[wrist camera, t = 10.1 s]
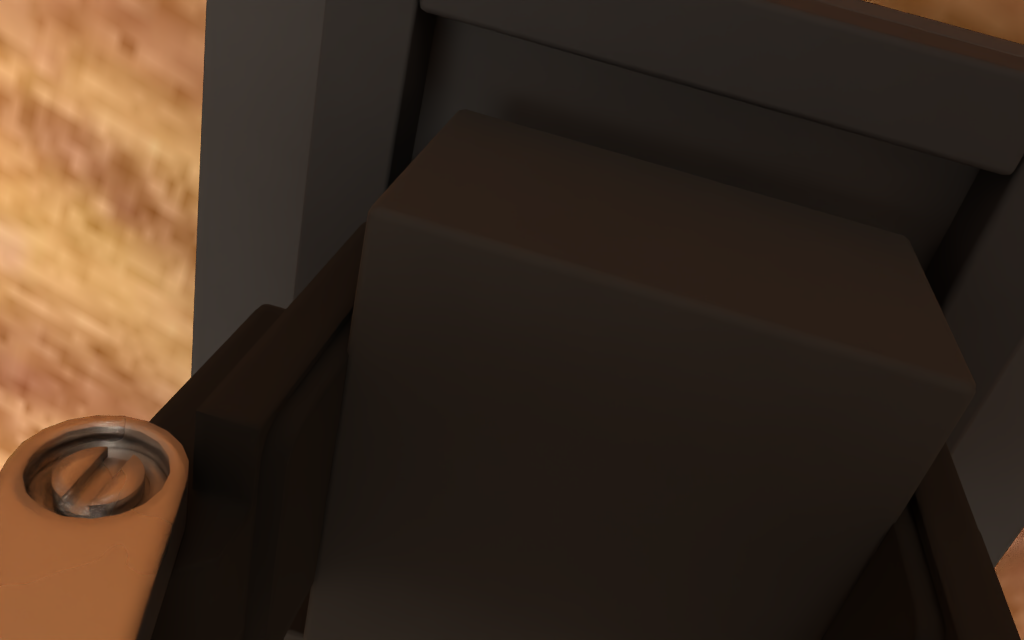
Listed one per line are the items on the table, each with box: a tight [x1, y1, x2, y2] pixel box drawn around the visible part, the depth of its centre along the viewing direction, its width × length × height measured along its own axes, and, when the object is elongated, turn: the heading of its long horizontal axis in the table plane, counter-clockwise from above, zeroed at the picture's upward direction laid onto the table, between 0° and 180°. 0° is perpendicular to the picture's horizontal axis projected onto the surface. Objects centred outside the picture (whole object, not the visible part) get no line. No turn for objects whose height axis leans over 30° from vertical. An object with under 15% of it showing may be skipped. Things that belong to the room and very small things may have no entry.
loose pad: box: [303, 109, 976, 640], centre depth 10 cm, size 6×5×3 cm
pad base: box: [191, 0, 1024, 640], centre depth 13 cm, size 16×12×4 cm
